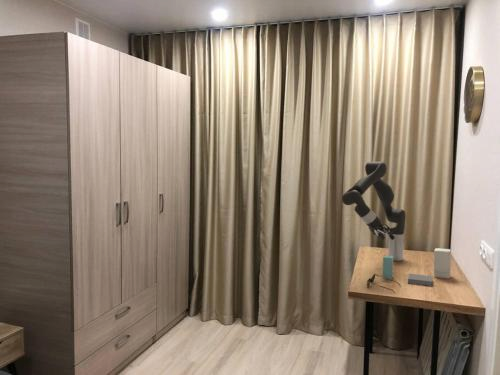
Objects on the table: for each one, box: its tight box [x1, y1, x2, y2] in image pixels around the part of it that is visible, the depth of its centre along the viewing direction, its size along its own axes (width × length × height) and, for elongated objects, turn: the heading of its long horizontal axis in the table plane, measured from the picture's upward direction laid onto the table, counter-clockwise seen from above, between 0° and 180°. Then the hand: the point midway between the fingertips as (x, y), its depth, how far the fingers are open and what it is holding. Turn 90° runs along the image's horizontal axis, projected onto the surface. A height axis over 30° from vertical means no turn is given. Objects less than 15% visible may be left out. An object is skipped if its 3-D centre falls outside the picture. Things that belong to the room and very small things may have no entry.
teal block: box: [382, 254, 394, 280], centre depth 228 cm, size 5×5×12 cm
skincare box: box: [433, 247, 452, 280], centre depth 229 cm, size 8×7×16 cm
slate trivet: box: [407, 273, 433, 287], centre depth 221 cm, size 10×12×2 cm
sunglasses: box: [366, 273, 402, 294], centre depth 212 cm, size 14×15×5 cm
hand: (388, 238), depth 228 cm, fingers open, 8 cm apart
